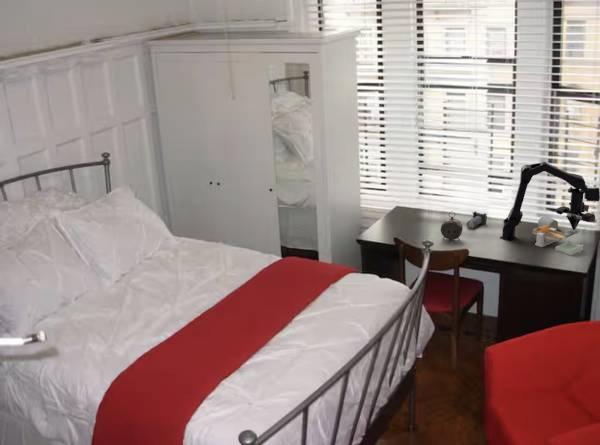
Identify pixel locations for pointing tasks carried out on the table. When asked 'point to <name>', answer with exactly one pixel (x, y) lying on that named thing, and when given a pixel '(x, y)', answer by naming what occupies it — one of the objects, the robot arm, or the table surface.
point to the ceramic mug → (548, 222)
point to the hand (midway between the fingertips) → (574, 229)
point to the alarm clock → (451, 228)
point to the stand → (541, 241)
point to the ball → (544, 228)
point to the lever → (553, 234)
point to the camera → (477, 220)
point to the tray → (569, 248)
